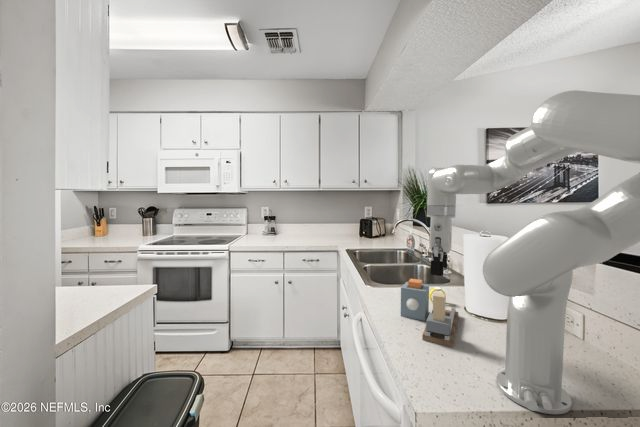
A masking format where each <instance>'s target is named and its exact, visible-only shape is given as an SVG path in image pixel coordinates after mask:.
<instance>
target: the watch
mask: <svg viewBox="0 0 640 427" xmlns="http://www.w3.org/2000/svg"><path fill="white" fill-rule="evenodd" d="M440 291H441V292H442V294H446V292H445V291H444V290H443V289H442V287H439V286H434V287H433V289H431V290H429V300H430V301H431V302H432V303H433V298H432V294H433V293H435V292H440Z"/></svg>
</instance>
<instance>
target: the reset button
mask: <svg viewBox="0 0 640 427" xmlns="http://www.w3.org/2000/svg"><path fill="white" fill-rule="evenodd" d="M407 282H408V288H415V289H422V284H423V279H416V278H409V280H408V281H407Z"/></svg>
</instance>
